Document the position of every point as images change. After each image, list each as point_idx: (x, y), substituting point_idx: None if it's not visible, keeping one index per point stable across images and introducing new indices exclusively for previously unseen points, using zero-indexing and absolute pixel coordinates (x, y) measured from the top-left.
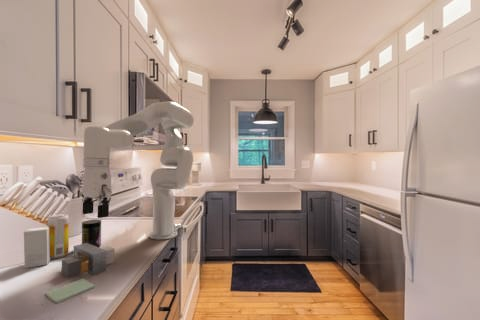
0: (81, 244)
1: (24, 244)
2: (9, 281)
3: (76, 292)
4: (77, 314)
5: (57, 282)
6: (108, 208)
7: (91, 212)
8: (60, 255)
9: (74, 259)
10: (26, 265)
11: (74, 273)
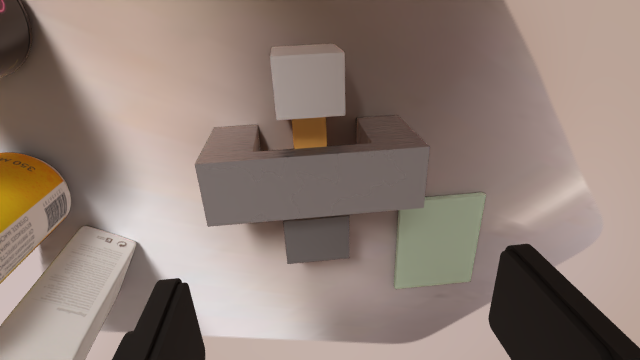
0: (209, 193)
1: None
2: (211, 328)
3: (474, 241)
4: (560, 260)
5: None
6: (590, 306)
7: (188, 296)
8: (69, 195)
9: (321, 232)
10: (116, 297)
11: None
